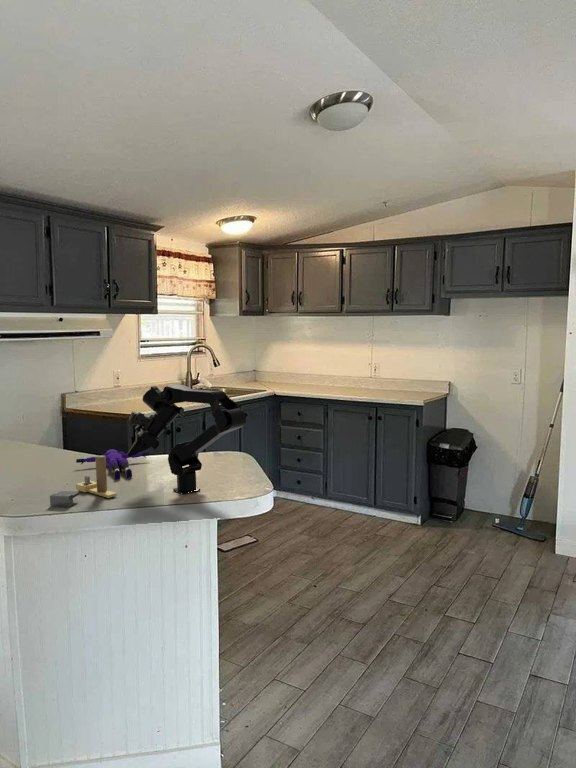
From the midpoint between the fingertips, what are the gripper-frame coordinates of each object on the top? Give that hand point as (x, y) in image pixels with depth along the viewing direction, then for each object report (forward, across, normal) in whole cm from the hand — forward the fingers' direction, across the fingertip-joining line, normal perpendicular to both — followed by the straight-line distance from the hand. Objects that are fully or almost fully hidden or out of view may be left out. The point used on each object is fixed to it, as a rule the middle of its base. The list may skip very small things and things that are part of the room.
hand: (128, 455), depth 177 cm
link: (+15, -2, +1) cm, 15 cm away
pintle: (+17, -6, -1) cm, 18 cm away
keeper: (+22, +6, -5) cm, 23 cm away
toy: (+10, -31, +7) cm, 34 cm away
